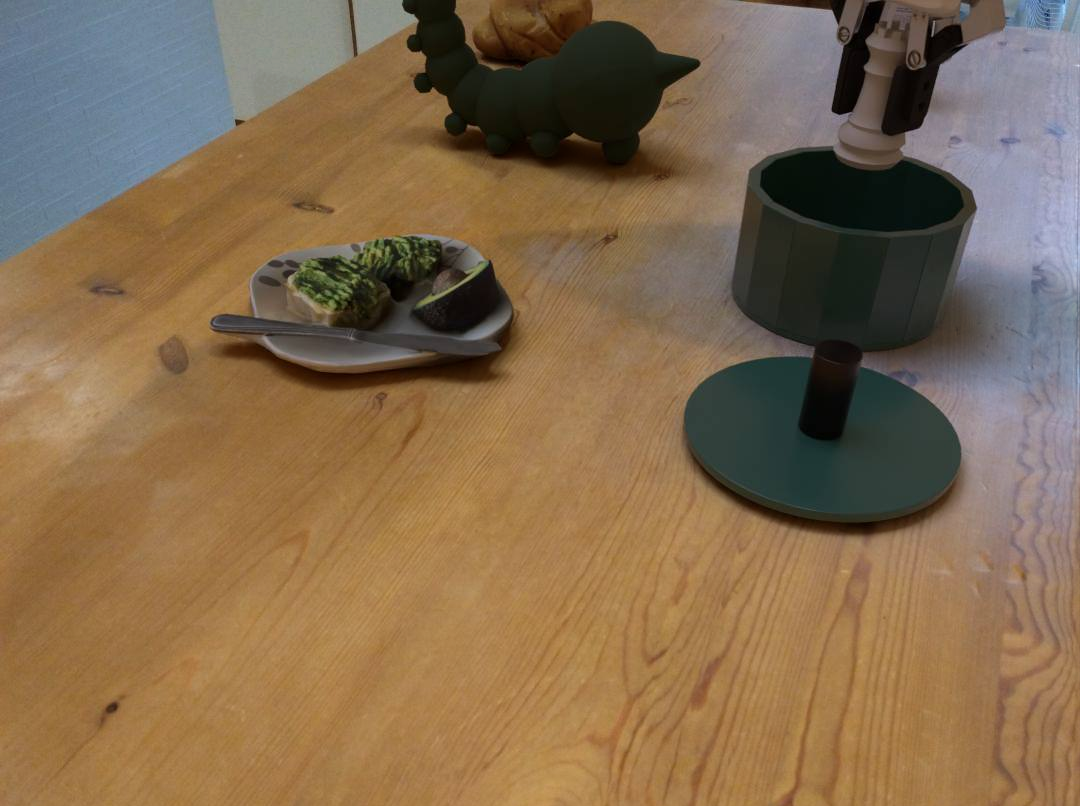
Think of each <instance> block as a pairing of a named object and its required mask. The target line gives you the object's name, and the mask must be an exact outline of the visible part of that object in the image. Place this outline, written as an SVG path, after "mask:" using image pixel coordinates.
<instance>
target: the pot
mask: <svg viewBox="0 0 1080 806" xmlns="http://www.w3.org/2000/svg"><path fill="white" fill-rule="evenodd" d="M833 148H834V145H823V146H806V147H805V146H803V147H796V148H792V149H788V150H785V151H781V152H777V153H774V154H770V155H767V156H765V157H764V158H763V159H761V160H760V161H758V162H757V163H755V165H753V166H752V167H750V169H749V170H748V176H747V182H746V188H745V195H744V202H743V206H742V207H743V208H742V214H741V220H740V226H739V234H738V240H737V246H736V253H735V259H734V266H733V272H732V280H731V294H732V297H733V300H734V302H735V304H736V305H737V306H738V308H739V309H740V310H741V311H742V312H743V313H744V314H745V315H746V316H747V317H749V319H750V320H752V321H753V322H755V323H756V324H757V325H759V326H761V327H762V328H765V329H766V330H768V331H770V332H773V333H775V334H777V335H779V336H781V337H784V338H786V339H790V340H792V341H796V342H799V343H803V344H805V345H810V346H814V347H815V346H816V345H817V344H818V343H820V342H822V341H825V340H842V341H846V342H849V343H852V344H854V345H856V346H857V347H858V348H860V349H861V351H862V352H874V351H885V350H886V351H887V350H893V349H898V348H901V347H906V346H909V345H912V344H915V343H917V342H918V341H922V340H923V339H925V338H927V337H928V336H929V335H931V334H932V333H933V332H934V331H935V330H936V329H937V328H938V326H939V325H940V323H941V321H942V317H943V316H944V315H945V313H946V312H947V307H948V305H949V301H950V298H951V295H952V292H953V289H954V286H955V281H956V279H957V276H958V272H959V268H960V266H961V262H962V259H963V256H964V253H965V249H966V247H967V243H968V240H969V237H970V233H971V230H972V226H973V223H974V220H975V217H976V214H977V210H978V206H977V203H976V199H975V197H974V193H973V190H972V189H971V188H970V187H968V186H967V185H966V184H964V182H962V181H961V180H960V179H959V178H957V177H956V176H955V175H954V174H953V173H950V172H949V171H946V170H944V169H942V168H939V167H937V166H935V165H932V164H930V163H927V162H925V161H923V160H920V159H917V158H915V157H911V156H905V155H903V159H901V160H900V161H899V162H898V163H897V164H896V165H895V166H893V167H892V168H889V169H885V170H864V169H858V168H854V167H851V166H848V165H846V164H844V163H842V162H840V160H839V159H838V158H837V157H836V155H835V152H834V150H833Z"/></svg>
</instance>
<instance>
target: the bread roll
mask: <svg viewBox="0 0 1080 806" xmlns="http://www.w3.org/2000/svg"><path fill="white" fill-rule="evenodd" d="M593 12H594V5H593V2H592V0H491V2H490V4H489V14H487V15H484V16H483V17H481V18H480V19H479V20H478V21H477V22H476V23H475V25H474V26H473V28H472V31H471V35H472V36H471V37H472V42H473V44H474V46H475V49H477V50H478V51H479V52H480V53H481V54H483V55H485V56H488V57H490V58H494V59H498V60H505V61H513V60H519V61H521V62H526V63H530V62H532V61H534V60H536V59H539V58H543V57H556V56H557V54H558V53H559V51H560V49H561V48H562V46H563V45H564V43H565V42H566V41H567V40H568V39H569V38H570V37H571V36H572V35H573V34H574V33H575V32H577V31H578V30H580V29H582V28H584V27H586V26H588V25H590V24H592V23H593Z"/></svg>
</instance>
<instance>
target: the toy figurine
mask: <svg viewBox="0 0 1080 806" xmlns="http://www.w3.org/2000/svg"><path fill="white" fill-rule="evenodd" d="M401 2H402V3H401V6H402V8H403V11H404V12H406V13H408V14H410V15H413V16H414V18H416V19H417V21H418V22H417V25H416V29H415V33H414V34H409V35H408V37H407V39H406V41H405V42H406V47H407V49H408V50H409V51H410V52H411V53H420V52H421V54H423V56H424V57H425V63H424V71H425V72H424V71H423V72H417V73H416V75H415V77H414V78H413V80H412V82H413V87H414V88H415V90H416V91H417V92H418V93H419V94H428V93H431V91H432V90H433V89H434V90H435V91H436V92H437V93H438V94H439V95H442V96H444V97H446V100H447V104H448V108H449V109H450V110H451V113H449V114H447V115H446V116H445V118H444V123H443V126H444V129H445V130H446V132H447V134H449V135H450V136H452V137H455V138H456V137H459V136H461V135H462V134H463V135H464V134H465V133H467V130H468V126H471V127H478V129H479V130H480V131H481V132H482V134H483V135H485V136H486V139H485V143H486V146H487V150H488V151H489V152H490V153H492V154H494V155H496V156H499V155H505V154H506V152H507V150H508V148H509V146H510V144H511V145H512V144H516V143H519V142H520V143H521V142H523V141H524V140H526V139H527V138H530V144H529V146H530V148H531V149H532V151H533V152H534V154H535V155H536V156H538V157H542V158H546V159H548V158H550V157H552V156H553V155H554V154H556V153H557V152H559V150H560V145H561V141H563V140H565V139H567V138H569V137H571V136H572V135H573V134H575V135H576V136H578V137H580V138H582V139H584V140H587V141H589V142H593V143H598V144H601V151H602V153H603V157H604V158H606V159H607V161H609V162H610V163H612V164H616V165H621V164H624V163H628V162H629V161H630V160H631V159H632V158H633V157H635V155H636V154H637V152H638V151H639V147H640V143H641V137H640V134H639V133H640V132H641V131H642V130H644V129H645V128H646V126H647V125H648V124H649V123H650V122H651V121H652V119H653V118H654V117H655V115H656V113H657V111H658V109H659V108H660V105H661V102H662V99H663V95H664V91H665V90H666V89H667V88H668V87H670V86H672V85H673V84H675V83H676V82H679V80H682V79H683V78H685V77H687V76H688V75H689V74H692V73H693V72H694V71H696V70H697V69H699V68H700V67H701V61H700V60H699V59H698V58H694V57H689V56H684V55H679V54H674V53H668V52H663V51H660V50H658V49H657V47H656V46H655V44H654V43H653V42H652V41H651V39H650V38H649V37H648V36H647V34H645V33H644V32H642V31H641V30H639V29H638V28H637V27H635V26H633V25H631V24H629V23H626V22H623V21H617V20H610V19H609V20H600V21H597V22H592V23H591V24H590V25H588V26H586V27H584V28H582V29H580V30H578V31H577V32H575V33H574V34H573V35H572V36H571V37H570V38H569V39H568V40H567V41H566V42H565V43H564V45H563V46H562V48H561V49H560V51H559V53H558V54H557V56H556V57H543V58H539V59H536V60H534V61H532V62H527V63H526V64H525V65H524V66H523V67H521V69H517V68H514V67H501V68H497V69H493V68H492V67H490V66H487V65H486V64H482V63H479V60H478V58H477V55H476V52H475V51H474V50H473V48H472V47H471V46H470V45H469V44H468V43H467V42H466V41H467V38H466V36H467V35H466V28H465V26H464V23H463V20H462V19H461V18H460V16H459V15H458V14H457V13H456V12H455V11H456V9H457V0H402V1H401Z"/></svg>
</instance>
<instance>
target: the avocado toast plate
mask: <svg viewBox="0 0 1080 806" xmlns="http://www.w3.org/2000/svg"><path fill="white" fill-rule="evenodd" d="M248 282H249V283H248V290H249V301H250V307H251V310H252V314H253V316H248V315H241V314H233V313H220V314H217V315H216V316H213V317H212V318H211V319H210V321H209V329H210V331H213V332H214V333H217V334H220V335H225V336H229V337H235V338H241V339H245V340H249V341H251V342H254V343H256V344H258V345H260V346H262V347H264V348H265V349H267V350H268V351H269V352H271V353H272V354H273V355H274V356H276V357H277V358H278V359H282V360H285V361H287V362H290V363H292V364H296V365H298V366H302V367H303V368H307V369H310V370H313V371H316V372H323V373H334V374H366V373H373V372H383V371H392V370H400V369H411V368H412V369H413V368H427V367H439V366H444V365H450V364H454V363H459V362H463V361H469V360H473V359H476V358H478V357H483V356H486V355H490V354H493V353H496V352H499V351H502V350H503V349H502V347H501V346H500V345H499V343H498V342H499V341H500V340H501V339H502V338H503V336H504V335H505V334H506V332H507V331H508V330H509V329H510V327H511V325H512V323H513V322H514V318H515V317H514V316H515V312H514V307H513V303H512V300H511V298H510V296H509V294H508V293H507V291H506V289H505V288H504V286H503V285H502V284H501V282H500V280H499V279H498V278H497V276H496V273H495V270H494V265H493V262H492V260H491V259H485V257H484V255H482V254H481V252H480V251H479V250H478V249H477V248H475V247H474V246H473V245H471V244H469V243H467V242H465V241H462V240H459V239H455V238H454V237H448V236H442V235H436V234H428V233H427V234H426V233H425V234H423V233H413V234H404V235H394V236H392V237H386V238H384V237H382V238H374V240H373V239H372V240H367V241H360V242H352V243H346V244H339V245H337V244H335V245H331V244H330V245H329V244H328V245H325V246H317V247H309V248H301V249H295V250H290V251H287V252H285V253H282V254H279V255H277V256H274V257H273V258H270V259H269V260H268V261H266V262H265V263H264V264H263V265H261V266H260V267H259V268H257V270H255V271H254V273H253V274H252V275H251V277H250V278H249V281H248Z"/></svg>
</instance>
